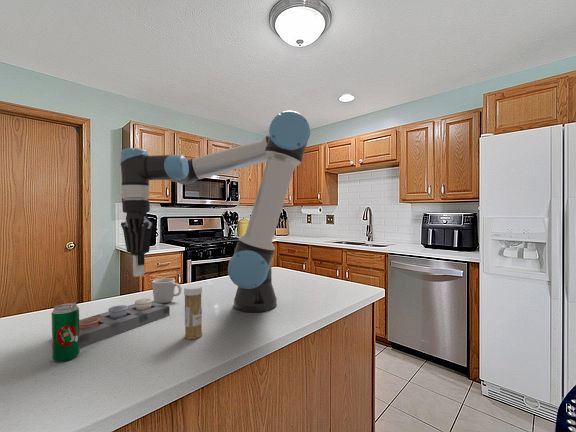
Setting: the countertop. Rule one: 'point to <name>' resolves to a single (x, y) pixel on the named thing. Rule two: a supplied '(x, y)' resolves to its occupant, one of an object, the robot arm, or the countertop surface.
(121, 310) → the slate button
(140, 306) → the cream button
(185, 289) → the sprinkles bottle
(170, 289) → the cup
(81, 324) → the terracotta button
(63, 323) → the soda can
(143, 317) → the button panel
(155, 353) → the countertop surface
